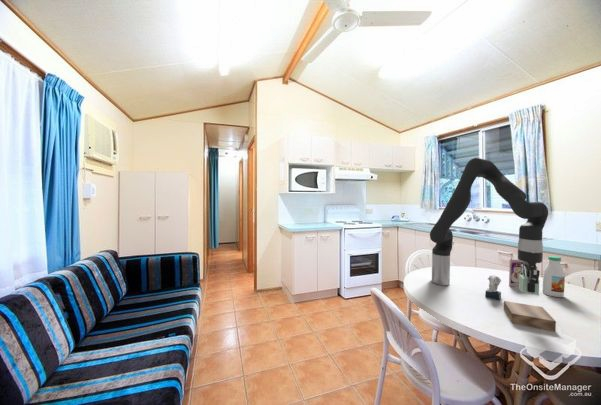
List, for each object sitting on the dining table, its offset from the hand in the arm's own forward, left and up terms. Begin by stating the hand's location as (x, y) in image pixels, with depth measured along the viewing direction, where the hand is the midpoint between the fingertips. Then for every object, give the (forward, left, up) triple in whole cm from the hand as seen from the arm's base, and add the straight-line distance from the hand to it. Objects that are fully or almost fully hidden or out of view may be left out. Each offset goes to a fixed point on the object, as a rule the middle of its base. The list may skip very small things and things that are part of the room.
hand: (528, 289), depth 102 cm
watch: (-8, +20, -13) cm, 25 cm away
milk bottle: (+20, +38, -13) cm, 45 cm away
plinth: (0, 0, -13) cm, 13 cm away
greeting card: (+6, +48, -13) cm, 50 cm away
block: (0, 0, -1) cm, 1 cm away
